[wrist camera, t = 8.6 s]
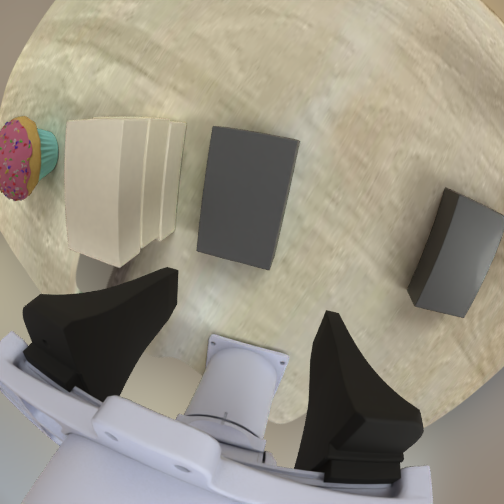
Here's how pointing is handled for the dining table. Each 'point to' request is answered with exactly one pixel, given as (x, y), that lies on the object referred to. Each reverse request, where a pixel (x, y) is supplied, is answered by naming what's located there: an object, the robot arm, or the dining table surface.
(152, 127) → the cream stack
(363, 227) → the dining table surface
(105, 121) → the cream book
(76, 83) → the dining table surface
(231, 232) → the grey book
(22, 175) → the cupcake
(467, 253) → the grey book
